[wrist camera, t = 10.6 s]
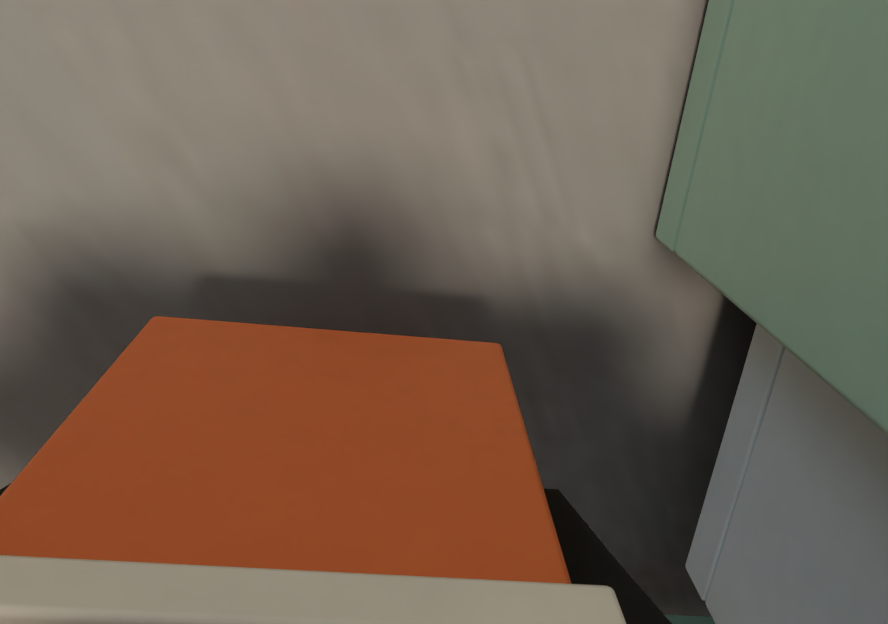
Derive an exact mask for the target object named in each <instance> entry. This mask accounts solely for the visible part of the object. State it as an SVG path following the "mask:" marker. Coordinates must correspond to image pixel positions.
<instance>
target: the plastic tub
mask: <svg viewBox="0 0 888 624" xmlns="http://www.w3.org/2000/svg"><path fill="white" fill-rule="evenodd" d="M0 624H626V622H625V619H624V616H623V613H622V611H621V608H620V605H619V602H618V600H617V597H616V594H615V592H614V590H613V589H612V588H611V587H608V586H603V585H583V584H571V580H570V577H569V573H568V570H567V567H566V563H565V560H564V557H563V553H562V550H561V546H560V543H559V540H558V536H557V533H556V529H555V526H554V523H553V519H552V516H551V512H550V509H549V506H548V502H547V499H546V496H545V492H544V489H543V485H542V482H541V479H540V475H539V472H538V468H537V465H536V462H535V458H534V455H533V451H532V448H531V445H530V441H529V438H528V434H527V431H526V428H525V424H524V421H523V418H522V414H521V411H520V407H519V404H518V401H517V397H516V394H515V390H514V387H513V384H512V380H511V377H510V373H509V370H508V367H507V363H506V360H505V357H504V353H503V350H502V346H501V345H500V344H497V343H489V342H477V341H464V340H452V339H439V338H426V337H414V336H401V335H389V334H376V333H364V332H351V331H338V330H326V329H313V328H301V327H288V326H276V325H263V324H250V323H238V322H225V321H213V320H200V319H188V318H175V317H163V316H156V317H152V318H151V319H150V320H149V322H148V323H147V324H146V325H145V326H144V328H143V329H142V330H141V331H140V332H139V333H138V335H137V336H136V337H135V338H134V339H133V340H132V342H131V343H130V344H129V345H128V346H127V348H126V349H125V350H124V351H123V352H122V353H121V355H120V356H119V357H118V358H117V359H116V360H115V362H114V363H113V364H112V365H111V366H110V368H109V369H108V370H107V371H106V372H105V373H104V375H103V376H102V377H101V378H100V379H99V380H98V382H97V383H96V384H95V385H94V386H93V387H92V389H91V390H90V391H89V392H88V393H87V395H86V396H85V397H84V398H83V399H82V400H81V402H80V403H79V404H78V405H77V406H76V407H75V409H74V410H73V411H72V412H71V413H70V415H69V416H68V417H67V418H66V419H65V420H64V422H63V423H62V424H61V425H60V426H59V427H58V429H57V430H56V431H55V432H54V433H53V435H52V436H51V437H50V438H49V439H48V440H47V442H46V443H45V444H44V445H43V446H42V447H41V449H40V450H39V451H38V452H37V453H36V455H35V456H34V457H33V458H32V459H31V460H30V462H29V463H28V464H27V465H26V466H25V467H24V469H23V470H22V471H21V472H20V473H19V474H18V476H17V477H16V478H15V479H14V480H13V482H12V483H11V484H10V485H9V486H8V487H7V489H6V490H5V491H4V492H3V493H2V494H1V496H0Z"/></svg>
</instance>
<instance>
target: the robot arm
mask: <svg viewBox="0 0 888 624" xmlns="http://www.w3.org/2000/svg"><path fill="white" fill-rule="evenodd" d="M10 484H11V483H10ZM10 484H9V485H10ZM9 485H7V486H6V487H4V488H2V489H1V490H0V496H1V494H2V493H3V492H4V491H5V490H6V489H7V487H8V486H9ZM544 492H545V496H546V499H547V502H548V506H549V509H550V512H551V516H552V519H553V523H554V526H555V529H556V533H557V536H558V540H559V543H560V546H561V550H562V553H563V557H564V560H565V563H566V567H567V570H568V573H569V577H570V580H571V584H583V585H603V586H608V587H611V588H612V589H613V590H614V592H615V594H616V597H617V600H618V602H619V605H620V608H621V611H622V613H623V616H624V619H625V622H626V624H672V623H671V622H670V621H669V620H668V619H667V618H666V617H665V615H664V614H663V613H662V612H661V611H660V610H659V609H658V608H657V606H656V605H655V604H654V603H653V602H652V601H651V600H650V599H649V597H648V596H647V595H646V594H645V593H644V592H643V591H642V590H641V588H640V587H639V586H638V585H637V584H636V583H635V581H634V580H633V579H632V578H631V577H630V576H629V574H628V573H627V572H626V571H625V570H624V569H623V567H622V566H621V565H620V564H619V563H618V561H617V560H616V559H615V558H614V557H613V555H612V554H611V553H610V552H609V551H608V549H607V548H606V547H605V546H604V545H603V543H602V542H601V541H600V540H599V538H598V537H597V536H596V535H595V534H594V532H593V531H592V530H591V529H590V528H589V526H588V525H587V524H586V523H585V521H584V520H583V519H582V518H581V517H580V515H579V514H578V513H577V512H576V510H575V509H574V508H573V507H572V506H571V504H570V503H569V502H568V501H567V500H566V498H565V497H564V496H563V495H562V494H561V492H560V491H559V490H558V489H544Z"/></svg>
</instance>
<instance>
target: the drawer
mask: <svg viewBox="0 0 888 624" xmlns="http://www.w3.org/2000/svg"><path fill="white" fill-rule="evenodd" d="M685 567H686V570H687V572H688V574H689V576H690V578H691V580H692V582H693V583H694V585H695V587H696V589H697V591H698V593H699V595H700V597H701V599H702V600H703V601H706V607H707V608H708V610H709V612H710V614H711V616H712V617H708V616H685V615H665V617H666V618H667V619H668V620H669V621H670V622H671V623H672V624H888V436H887V435H886V434H885V433H884V432H882V431H881V430H880V429H879V428H878V427H877V426H875V425H874V424H873V423H872V422H871V421H870V420H868V419H867V418H866V417H865V416H864V415H863V414H861V413H860V412H859V411H858V410H857V409H856V408H855V407H853V406H852V405H851V404H850V403H849V402H848V401H846V400H845V399H844V398H843V397H842V396H841V395H839V394H838V393H837V392H836V391H835V390H834V389H832V388H831V387H830V386H829V385H828V384H827V383H825V382H824V381H823V380H822V379H821V378H820V377H818V376H817V375H816V374H815V373H814V372H813V371H811V370H810V369H809V368H808V367H807V366H806V365H804V364H803V363H802V362H801V361H800V360H799V359H798V358H796V357H795V356H794V355H793V354H792V353H791V352H789V351H788V350H787V349H786V348H785V347H784V346H782V345H781V344H780V343H779V342H778V341H777V340H775V339H774V338H773V337H772V336H771V335H770V334H768V333H767V332H766V331H765V330H764V329H763V328H761V327H760V326H759V325H758V324H756V328H755V331H754V335H753V338H752V341H751V345H750V348H749V352H748V355H747V358H746V362H745V365H744V368H743V372H742V375H741V379H740V382H739V385H738V389H737V392H736V396H735V399H734V402H733V406H732V409H731V412H730V416H729V419H728V423H727V426H726V429H725V433H724V436H723V440H722V443H721V446H720V450H719V453H718V457H717V460H716V463H715V467H714V470H713V473H712V477H711V480H710V484H709V487H708V490H707V494H706V497H705V501H704V504H703V507H702V511H701V514H700V518H699V521H698V524H697V528H696V531H695V534H694V538H693V541H692V545H691V548H690V551H689V555H688V558H687V562H686V565H685Z"/></svg>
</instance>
